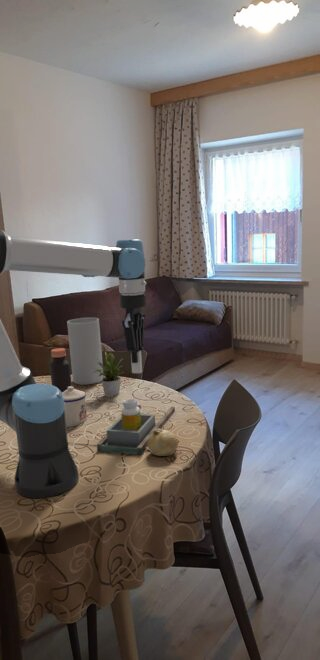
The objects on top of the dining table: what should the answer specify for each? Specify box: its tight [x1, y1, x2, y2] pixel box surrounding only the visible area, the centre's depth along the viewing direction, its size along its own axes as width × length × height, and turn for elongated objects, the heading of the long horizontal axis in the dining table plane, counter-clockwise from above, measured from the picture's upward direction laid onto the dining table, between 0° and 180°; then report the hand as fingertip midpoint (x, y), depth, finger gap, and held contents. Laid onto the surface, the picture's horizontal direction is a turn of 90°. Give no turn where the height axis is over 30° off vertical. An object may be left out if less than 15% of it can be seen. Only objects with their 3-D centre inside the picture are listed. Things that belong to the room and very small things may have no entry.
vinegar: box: [49, 347, 73, 392], centre depth 177 cm, size 7×7×20 cm
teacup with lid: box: [62, 385, 88, 427], centre depth 162 cm, size 12×9×12 cm
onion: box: [147, 428, 179, 457], centre depth 135 cm, size 8×8×7 cm
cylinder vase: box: [66, 317, 105, 386], centre depth 204 cm, size 12×12×25 cm
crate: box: [106, 413, 156, 447], centre depth 146 cm, size 14×10×4 cm
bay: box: [96, 404, 176, 455], centre depth 152 cm, size 32×13×2 cm, turn 162°
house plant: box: [94, 351, 125, 398], centre depth 186 cm, size 14×14×16 cm
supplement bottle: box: [120, 398, 141, 432], centre depth 145 cm, size 5×5×10 cm
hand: (137, 372), depth 150 cm, fingers closed
